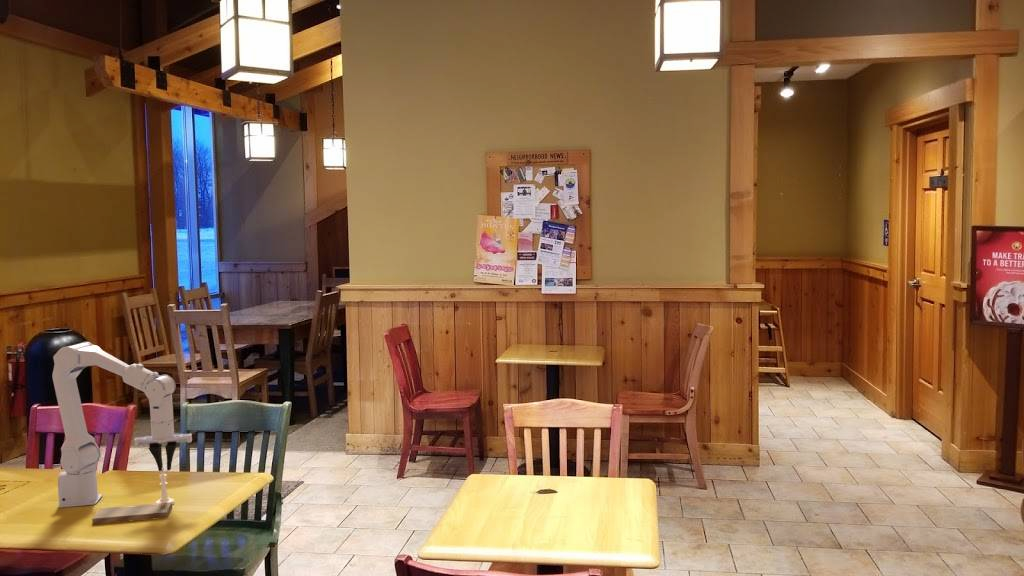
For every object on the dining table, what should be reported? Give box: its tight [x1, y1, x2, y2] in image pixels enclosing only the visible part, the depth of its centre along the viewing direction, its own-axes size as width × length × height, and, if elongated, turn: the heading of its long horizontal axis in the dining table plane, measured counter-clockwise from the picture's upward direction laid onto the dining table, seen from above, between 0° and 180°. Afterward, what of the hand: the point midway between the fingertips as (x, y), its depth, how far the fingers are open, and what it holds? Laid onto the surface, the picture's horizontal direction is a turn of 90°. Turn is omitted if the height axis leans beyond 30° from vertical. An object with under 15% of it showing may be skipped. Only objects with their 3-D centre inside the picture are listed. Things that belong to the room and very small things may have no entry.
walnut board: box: [91, 502, 173, 525], centre depth 228 cm, size 18×8×2 cm, turn 102°
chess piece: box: [154, 467, 176, 505], centre depth 236 cm, size 5×5×10 cm
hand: (164, 469), depth 236 cm, fingers closed
